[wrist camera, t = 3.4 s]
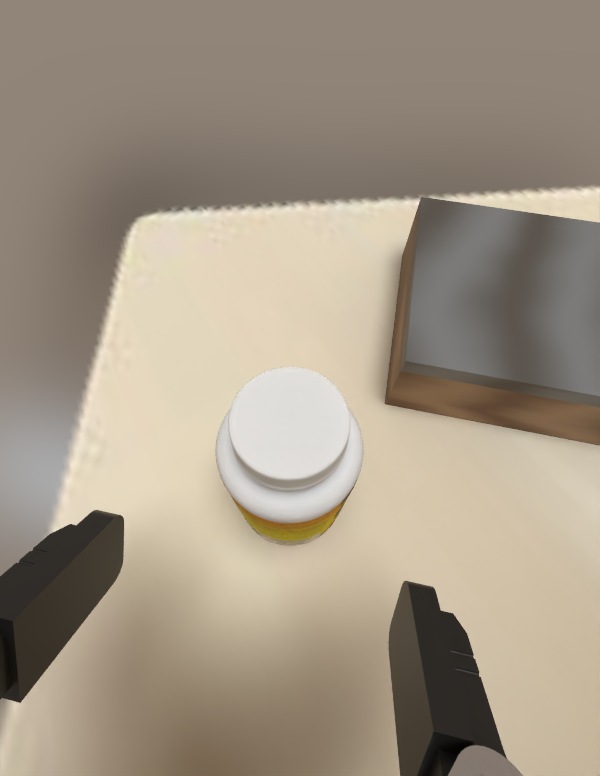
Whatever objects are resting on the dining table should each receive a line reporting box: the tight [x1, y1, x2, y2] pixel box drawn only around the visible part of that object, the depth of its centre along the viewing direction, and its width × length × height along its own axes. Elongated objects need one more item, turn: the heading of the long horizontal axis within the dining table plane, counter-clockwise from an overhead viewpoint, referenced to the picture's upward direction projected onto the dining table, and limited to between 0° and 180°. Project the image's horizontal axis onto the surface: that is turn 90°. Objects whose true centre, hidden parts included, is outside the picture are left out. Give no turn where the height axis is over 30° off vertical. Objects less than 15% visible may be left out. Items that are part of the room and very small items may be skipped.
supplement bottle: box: [216, 367, 363, 545], centre depth 17 cm, size 6×6×10 cm
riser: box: [385, 197, 600, 445], centre depth 24 cm, size 13×13×5 cm
